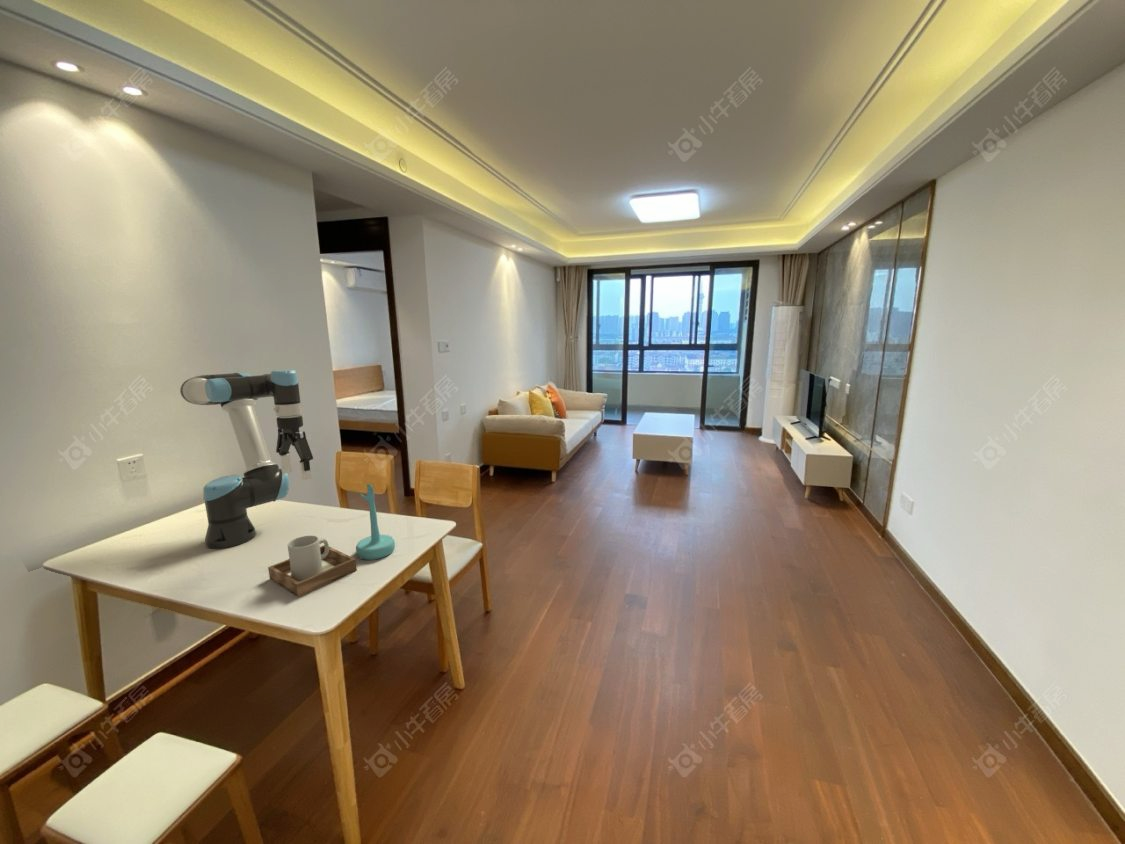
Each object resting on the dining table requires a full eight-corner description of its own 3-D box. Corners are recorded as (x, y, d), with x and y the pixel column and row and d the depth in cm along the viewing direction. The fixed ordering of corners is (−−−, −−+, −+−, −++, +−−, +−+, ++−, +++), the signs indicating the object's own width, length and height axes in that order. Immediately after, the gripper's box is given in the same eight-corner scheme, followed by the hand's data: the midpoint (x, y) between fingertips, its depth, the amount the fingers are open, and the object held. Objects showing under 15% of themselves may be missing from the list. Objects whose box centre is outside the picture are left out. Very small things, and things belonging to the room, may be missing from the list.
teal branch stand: (377, 541, 164) (371, 476, 159) (402, 547, 159) (397, 481, 154) (348, 556, 153) (341, 487, 148) (374, 564, 148) (367, 492, 143)
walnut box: (269, 578, 139) (268, 567, 138) (326, 555, 154) (325, 544, 153) (298, 597, 129) (297, 584, 128) (356, 570, 144) (355, 558, 143)
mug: (302, 583, 134) (298, 550, 132) (285, 577, 138) (281, 544, 136) (338, 565, 145) (335, 534, 142) (321, 559, 148) (318, 529, 146)
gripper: (260, 414, 154) (268, 472, 158) (296, 421, 140) (304, 485, 144) (283, 411, 160) (290, 467, 164) (320, 417, 146) (327, 479, 150)
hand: (296, 476), depth 154 cm, fingers open, 13 cm apart
